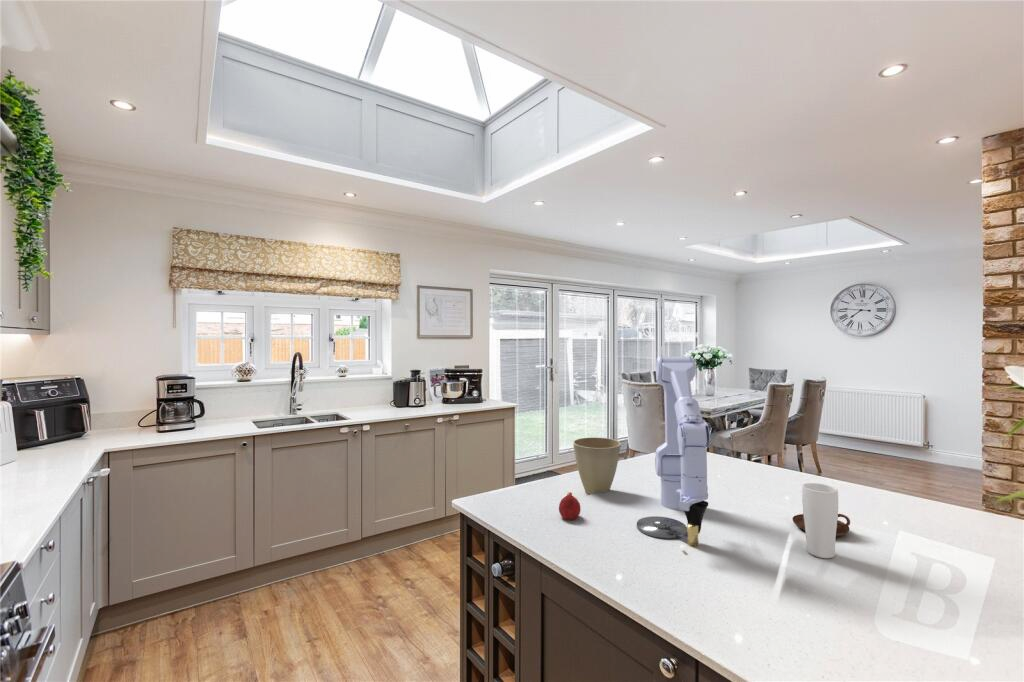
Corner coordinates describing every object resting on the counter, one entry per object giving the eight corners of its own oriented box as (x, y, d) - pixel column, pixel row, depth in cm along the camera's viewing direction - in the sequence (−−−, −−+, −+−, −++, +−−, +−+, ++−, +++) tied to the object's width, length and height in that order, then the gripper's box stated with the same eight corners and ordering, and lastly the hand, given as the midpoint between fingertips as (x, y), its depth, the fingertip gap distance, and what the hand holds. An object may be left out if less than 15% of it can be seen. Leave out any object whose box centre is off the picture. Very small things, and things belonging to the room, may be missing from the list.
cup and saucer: (843, 525, 120) (843, 501, 120) (854, 544, 110) (854, 518, 110) (789, 518, 126) (789, 495, 125) (795, 535, 115) (795, 510, 115)
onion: (580, 527, 121) (579, 496, 121) (557, 525, 122) (557, 495, 122) (581, 518, 127) (580, 489, 127) (560, 517, 128) (559, 488, 128)
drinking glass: (833, 549, 107) (832, 484, 107) (843, 563, 100) (842, 493, 100) (799, 545, 109) (798, 481, 109) (807, 558, 103) (806, 490, 102)
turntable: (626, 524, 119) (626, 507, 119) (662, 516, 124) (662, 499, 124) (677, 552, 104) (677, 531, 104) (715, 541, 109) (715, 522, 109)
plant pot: (565, 494, 147) (564, 444, 147) (586, 482, 159) (585, 435, 159) (610, 503, 138) (609, 450, 138) (628, 489, 150) (627, 440, 150)
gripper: (686, 464, 117) (687, 518, 117) (665, 478, 106) (666, 538, 106) (716, 469, 113) (717, 525, 113) (697, 484, 101) (698, 546, 101)
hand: (694, 532), depth 109 cm, fingers closed
